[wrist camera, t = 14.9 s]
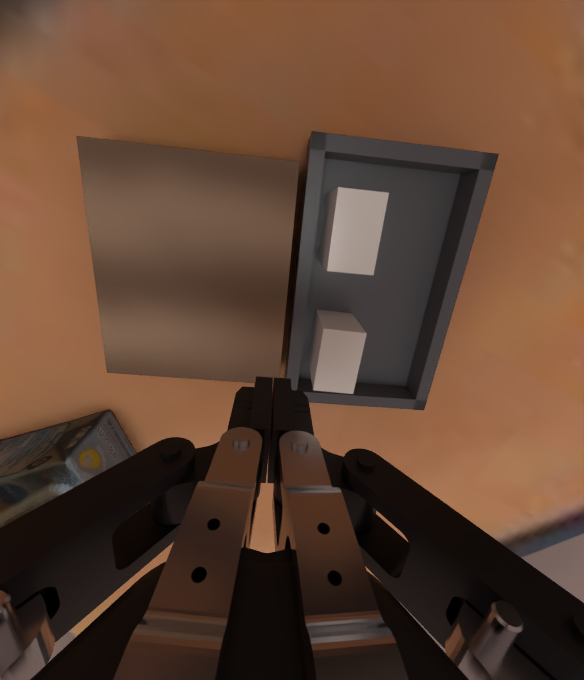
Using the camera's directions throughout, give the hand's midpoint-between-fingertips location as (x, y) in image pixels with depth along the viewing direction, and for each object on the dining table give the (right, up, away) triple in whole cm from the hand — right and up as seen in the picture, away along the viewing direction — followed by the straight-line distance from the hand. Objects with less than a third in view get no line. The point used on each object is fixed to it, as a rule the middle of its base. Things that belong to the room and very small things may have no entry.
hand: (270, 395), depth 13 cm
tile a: (+3, +9, +4) cm, 10 cm away
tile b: (+2, +2, +7) cm, 7 cm away
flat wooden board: (-5, +7, +7) cm, 11 cm away
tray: (+6, +6, +8) cm, 12 cm away
